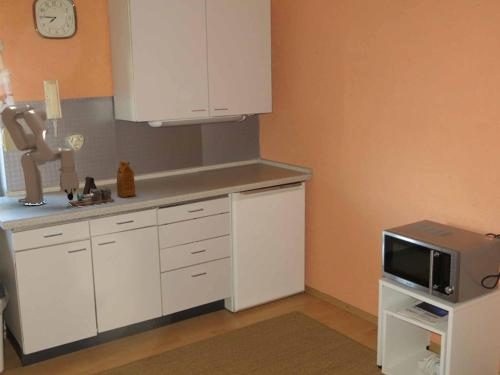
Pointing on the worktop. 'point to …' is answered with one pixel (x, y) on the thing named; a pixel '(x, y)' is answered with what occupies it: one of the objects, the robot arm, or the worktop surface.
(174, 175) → the worktop surface
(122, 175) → the coffee package
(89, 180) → the phone stand
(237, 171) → the worktop surface
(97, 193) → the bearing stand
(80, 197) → the shaft
